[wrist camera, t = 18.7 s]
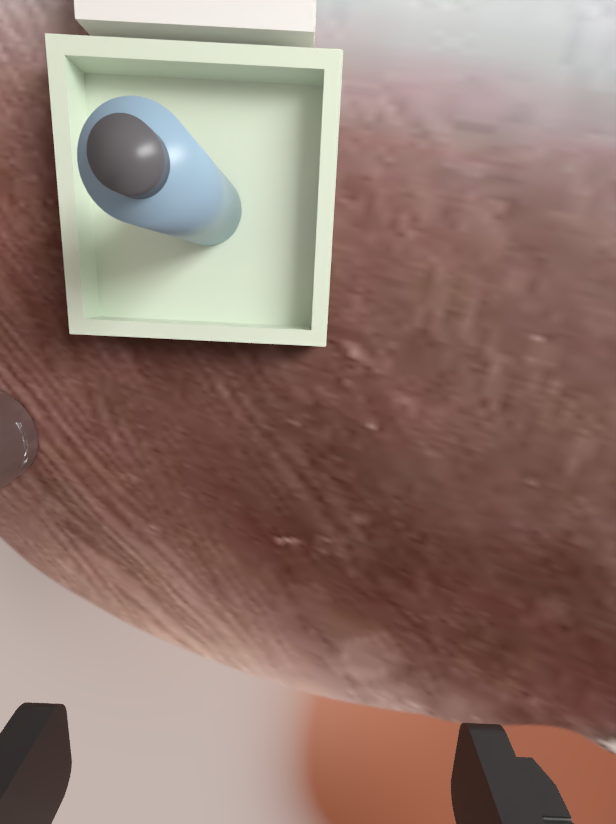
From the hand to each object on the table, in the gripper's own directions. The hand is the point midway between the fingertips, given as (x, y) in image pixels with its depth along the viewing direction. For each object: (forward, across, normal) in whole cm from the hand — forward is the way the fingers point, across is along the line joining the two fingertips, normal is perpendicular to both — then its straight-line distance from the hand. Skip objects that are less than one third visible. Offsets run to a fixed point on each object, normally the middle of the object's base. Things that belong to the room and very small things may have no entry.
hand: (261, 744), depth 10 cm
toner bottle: (+33, +8, -14) cm, 37 cm away
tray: (+34, +8, -14) cm, 38 cm away
